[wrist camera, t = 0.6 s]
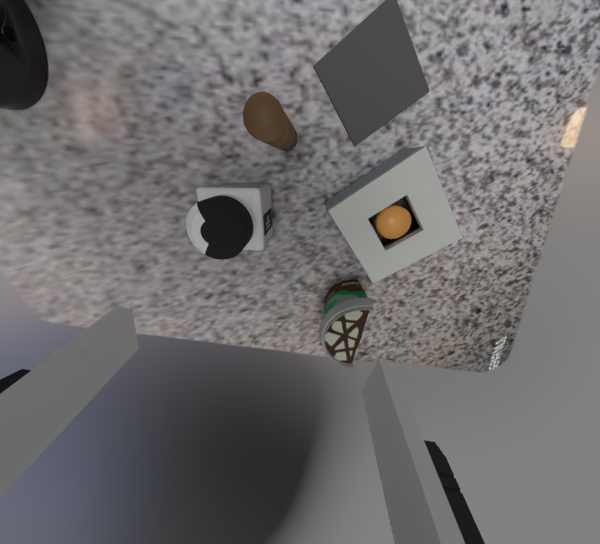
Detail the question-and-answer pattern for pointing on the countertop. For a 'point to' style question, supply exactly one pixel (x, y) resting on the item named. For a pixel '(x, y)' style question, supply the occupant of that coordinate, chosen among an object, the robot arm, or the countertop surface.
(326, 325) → the food container
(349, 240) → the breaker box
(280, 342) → the countertop surface
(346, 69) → the pad
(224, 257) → the container
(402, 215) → the button
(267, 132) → the stylus
